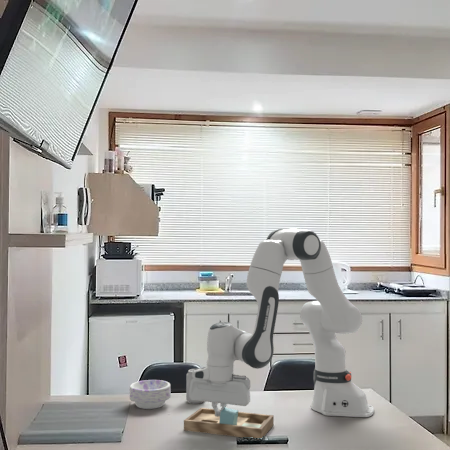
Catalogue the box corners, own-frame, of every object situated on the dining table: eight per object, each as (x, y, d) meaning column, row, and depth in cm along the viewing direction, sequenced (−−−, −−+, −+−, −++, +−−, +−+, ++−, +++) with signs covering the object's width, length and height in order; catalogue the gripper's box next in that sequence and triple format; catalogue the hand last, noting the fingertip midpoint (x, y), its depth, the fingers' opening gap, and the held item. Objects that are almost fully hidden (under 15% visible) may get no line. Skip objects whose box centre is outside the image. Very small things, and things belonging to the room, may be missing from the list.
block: (236, 424, 180) (238, 410, 180) (232, 428, 176) (234, 414, 176) (223, 421, 182) (225, 407, 182) (219, 425, 178) (220, 411, 178)
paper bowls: (130, 413, 199) (131, 390, 200) (128, 401, 214) (128, 380, 214) (173, 410, 203) (173, 388, 203) (167, 399, 218) (167, 378, 218)
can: (203, 404, 210) (203, 372, 210) (184, 403, 211) (184, 371, 212) (207, 399, 217) (208, 368, 218) (189, 398, 219) (189, 367, 219)
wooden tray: (273, 425, 186) (273, 415, 186) (261, 439, 172) (261, 429, 172) (201, 417, 195) (201, 407, 195) (183, 430, 181) (183, 420, 181)
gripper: (253, 374, 181) (252, 417, 180) (195, 368, 188) (194, 410, 187) (247, 378, 175) (246, 423, 174) (187, 372, 182) (186, 415, 181)
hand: (219, 416), depth 181 cm, fingers closed
